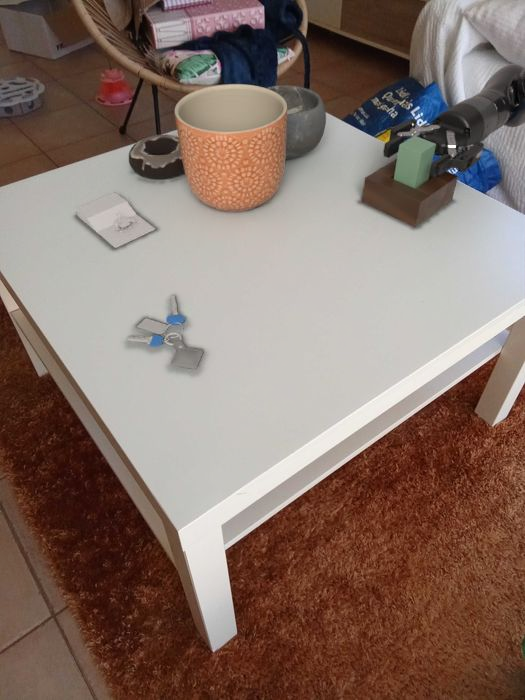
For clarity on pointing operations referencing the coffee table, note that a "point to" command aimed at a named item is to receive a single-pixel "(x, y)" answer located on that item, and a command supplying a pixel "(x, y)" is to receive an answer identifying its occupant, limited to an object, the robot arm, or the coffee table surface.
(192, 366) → the key chain
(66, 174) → the coffee table surface
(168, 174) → the donut
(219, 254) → the coffee table surface
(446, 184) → the mount block
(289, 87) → the bowl
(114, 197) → the small white envelope
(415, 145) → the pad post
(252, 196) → the planter
